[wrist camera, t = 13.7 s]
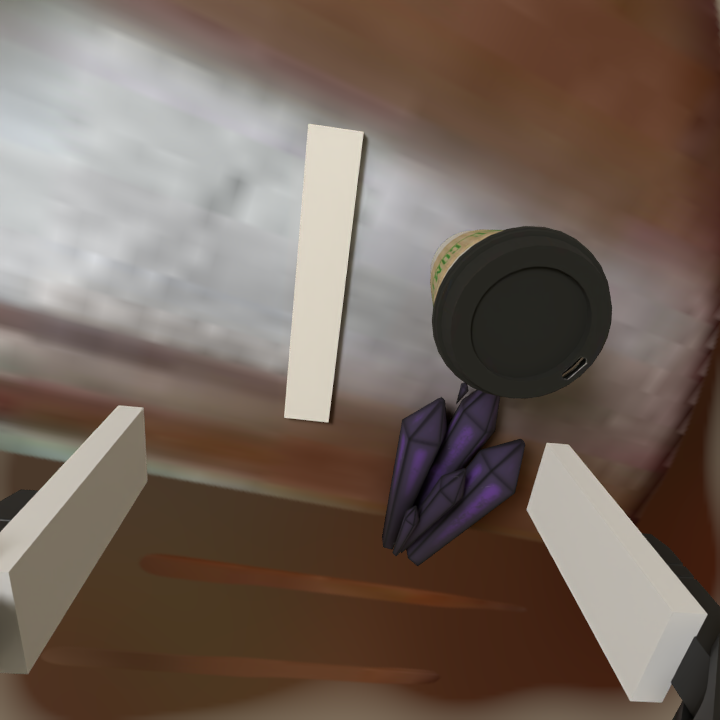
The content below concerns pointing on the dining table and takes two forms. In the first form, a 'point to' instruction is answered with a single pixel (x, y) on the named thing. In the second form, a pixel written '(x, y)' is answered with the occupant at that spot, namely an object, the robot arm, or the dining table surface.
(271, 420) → the dining table surface
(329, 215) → the cream flat slat
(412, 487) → the crystal
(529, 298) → the coffee cup
